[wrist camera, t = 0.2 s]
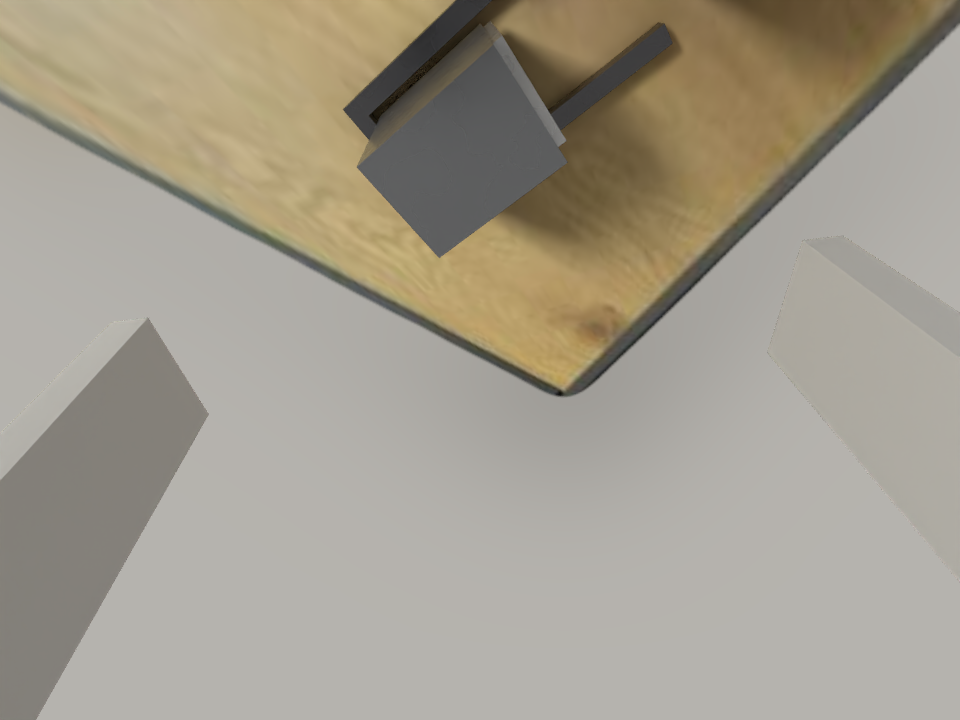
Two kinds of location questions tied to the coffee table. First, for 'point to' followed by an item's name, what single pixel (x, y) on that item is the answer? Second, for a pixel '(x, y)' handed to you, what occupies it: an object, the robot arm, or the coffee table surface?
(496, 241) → the coffee table surface
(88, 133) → the coffee table surface
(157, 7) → the coffee table surface
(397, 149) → the grey stepped block
